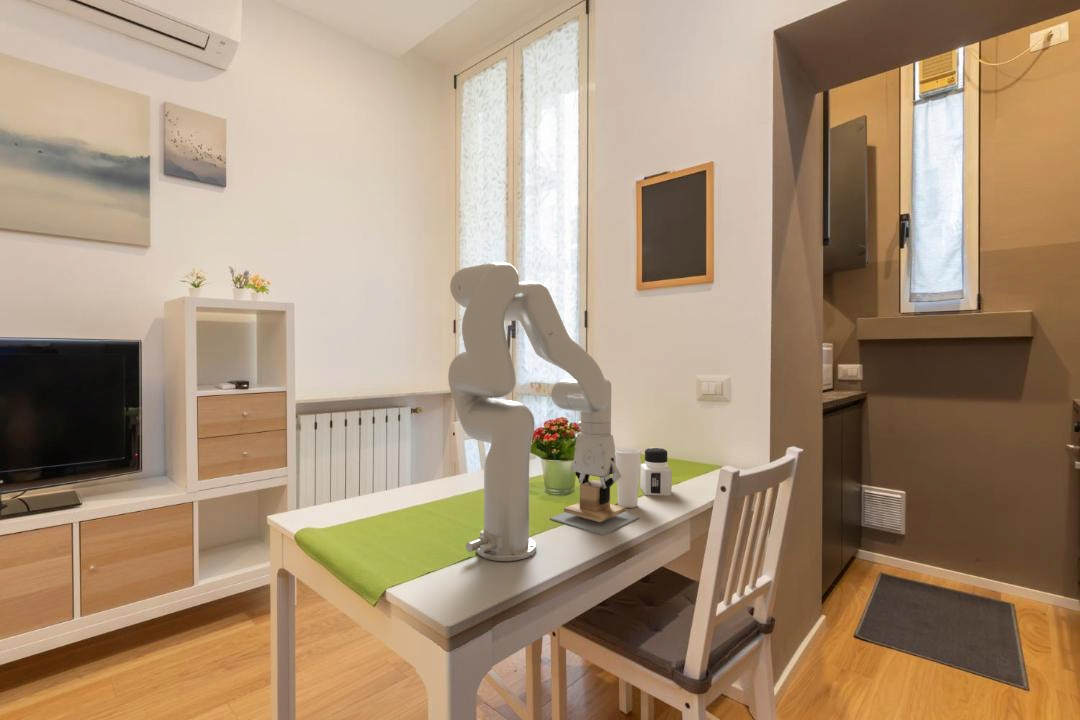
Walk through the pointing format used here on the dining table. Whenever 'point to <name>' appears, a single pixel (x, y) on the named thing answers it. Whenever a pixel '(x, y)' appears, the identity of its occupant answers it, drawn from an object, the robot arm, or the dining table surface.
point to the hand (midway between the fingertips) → (594, 500)
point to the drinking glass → (628, 476)
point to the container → (656, 473)
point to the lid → (593, 504)
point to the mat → (595, 522)
